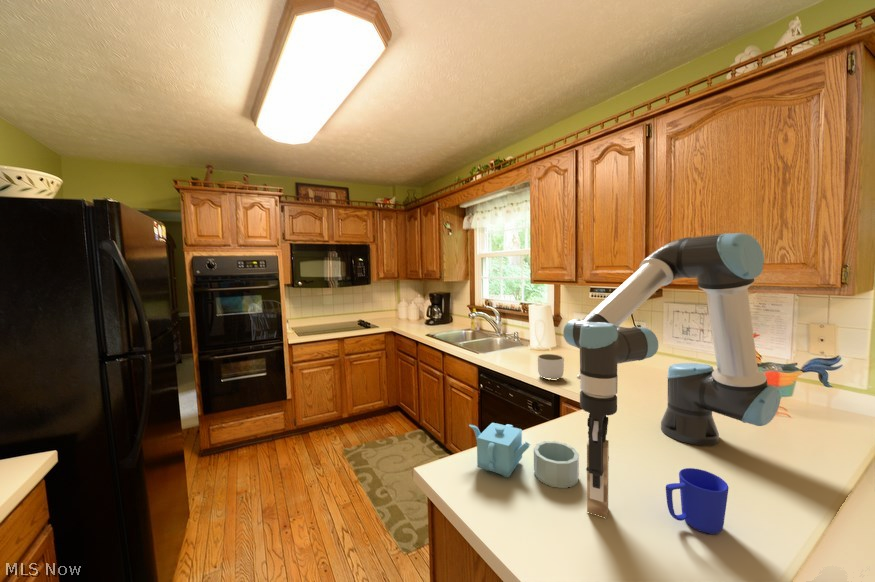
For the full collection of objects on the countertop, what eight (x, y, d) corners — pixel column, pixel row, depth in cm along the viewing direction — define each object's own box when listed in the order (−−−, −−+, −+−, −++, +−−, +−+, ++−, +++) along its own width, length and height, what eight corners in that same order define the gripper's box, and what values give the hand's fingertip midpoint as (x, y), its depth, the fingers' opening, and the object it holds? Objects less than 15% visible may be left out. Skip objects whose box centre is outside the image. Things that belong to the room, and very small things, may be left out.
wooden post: (608, 507, 77) (608, 440, 76) (606, 519, 74) (607, 448, 73) (589, 502, 79) (589, 436, 78) (587, 512, 76) (587, 444, 75)
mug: (652, 513, 75) (653, 470, 74) (702, 509, 76) (703, 466, 75) (682, 543, 67) (683, 495, 66) (738, 537, 68) (739, 490, 67)
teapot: (520, 491, 83) (520, 447, 83) (457, 470, 93) (456, 431, 92) (538, 460, 97) (538, 422, 96) (481, 444, 106) (480, 410, 106)
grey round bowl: (581, 470, 92) (581, 447, 91) (574, 493, 82) (574, 468, 82) (540, 459, 97) (540, 437, 97) (529, 480, 88) (529, 456, 87)
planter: (542, 373, 177) (542, 352, 177) (566, 376, 170) (566, 355, 169) (534, 379, 167) (534, 358, 167) (559, 384, 160) (559, 361, 159)
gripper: (585, 378, 84) (585, 469, 85) (573, 402, 69) (574, 510, 71) (619, 383, 80) (618, 477, 81) (614, 409, 65) (614, 523, 67)
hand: (597, 492), depth 76 cm, fingers closed on wooden post, 4 cm apart
